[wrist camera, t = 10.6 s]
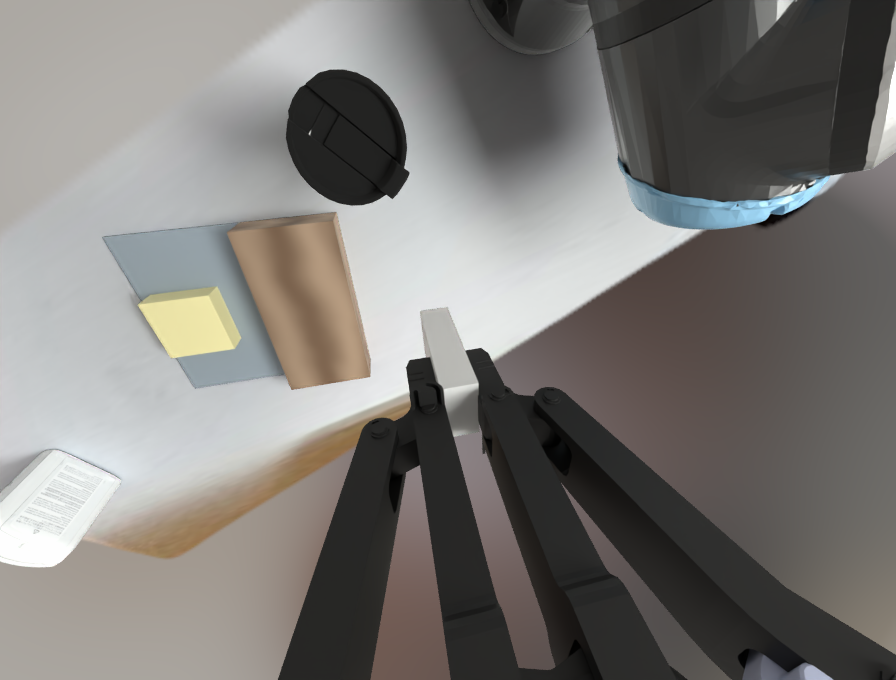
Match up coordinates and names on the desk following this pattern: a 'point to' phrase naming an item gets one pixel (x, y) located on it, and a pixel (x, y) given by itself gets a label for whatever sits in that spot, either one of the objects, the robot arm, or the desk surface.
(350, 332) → the brown wooden block
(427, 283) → the desk surface
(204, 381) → the rubber mat
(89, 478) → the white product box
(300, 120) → the travel mug
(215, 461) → the desk surface
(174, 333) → the note pad
